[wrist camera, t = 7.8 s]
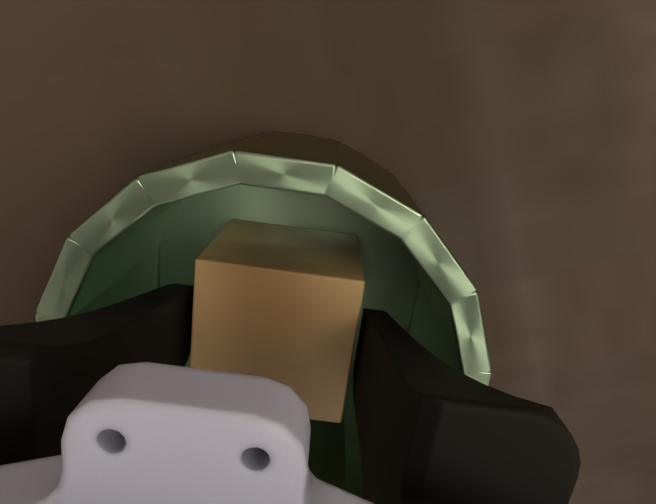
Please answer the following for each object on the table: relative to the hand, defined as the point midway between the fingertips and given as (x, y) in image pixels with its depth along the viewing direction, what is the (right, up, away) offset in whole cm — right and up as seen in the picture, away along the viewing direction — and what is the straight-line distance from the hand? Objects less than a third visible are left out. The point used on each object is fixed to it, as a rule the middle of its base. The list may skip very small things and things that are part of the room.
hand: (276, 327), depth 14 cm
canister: (0, +1, +3) cm, 4 cm away
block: (0, +1, +3) cm, 3 cm away
